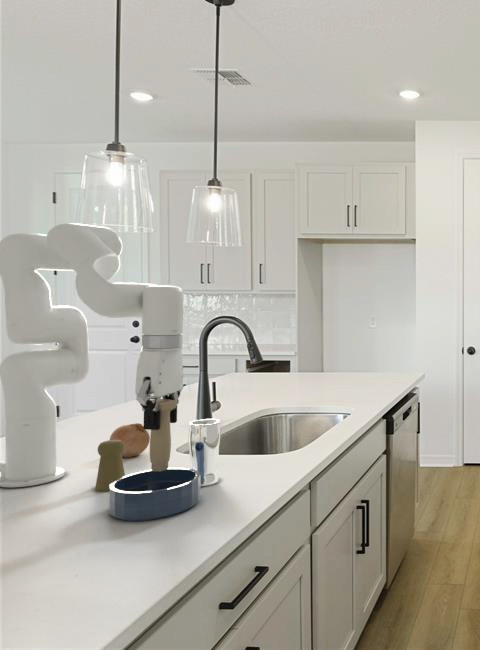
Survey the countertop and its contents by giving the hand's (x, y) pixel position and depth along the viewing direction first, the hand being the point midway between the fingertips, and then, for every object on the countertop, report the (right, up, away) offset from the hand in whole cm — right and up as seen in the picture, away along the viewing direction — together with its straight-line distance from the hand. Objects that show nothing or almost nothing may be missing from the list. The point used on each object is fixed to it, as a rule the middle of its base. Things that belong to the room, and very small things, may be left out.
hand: (160, 425), depth 122 cm
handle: (0, -10, 0) cm, 10 cm away
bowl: (-1, -18, 0) cm, 18 cm away
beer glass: (+1, -18, +16) cm, 24 cm away
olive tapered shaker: (-19, -17, +12) cm, 29 cm away
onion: (-32, -16, +37) cm, 51 cm away
